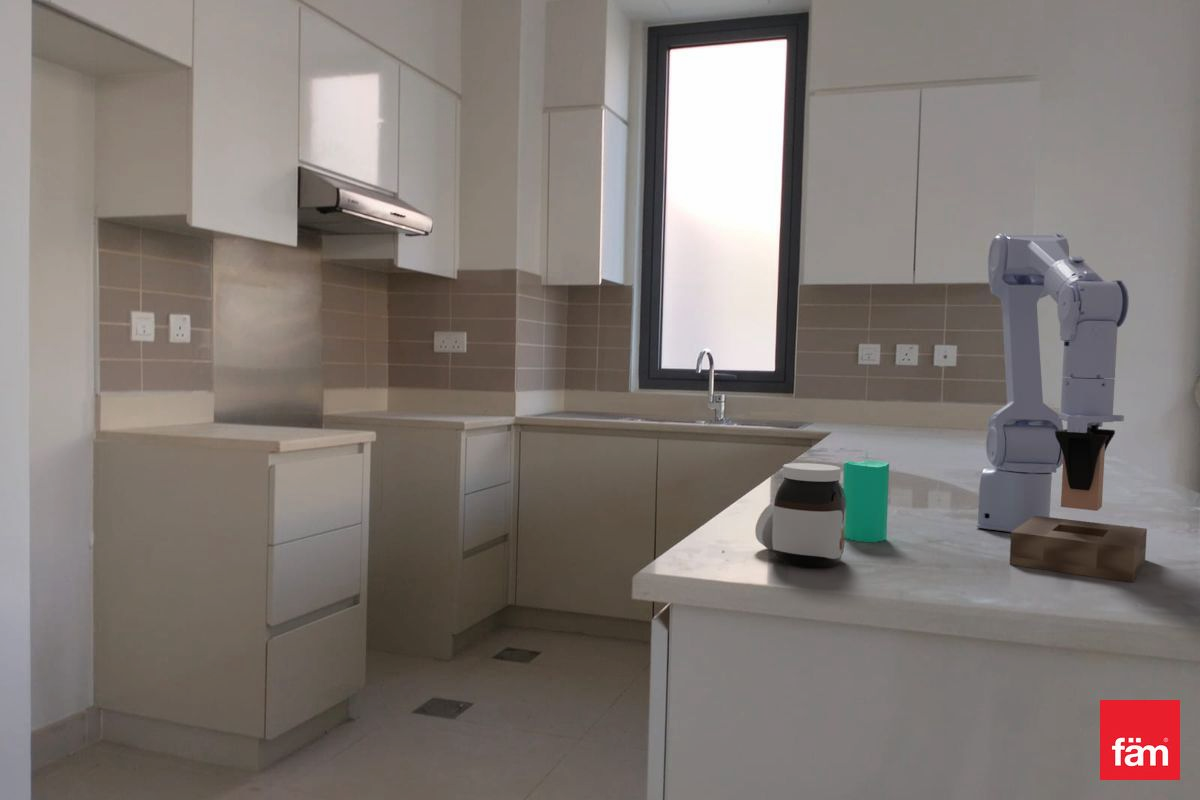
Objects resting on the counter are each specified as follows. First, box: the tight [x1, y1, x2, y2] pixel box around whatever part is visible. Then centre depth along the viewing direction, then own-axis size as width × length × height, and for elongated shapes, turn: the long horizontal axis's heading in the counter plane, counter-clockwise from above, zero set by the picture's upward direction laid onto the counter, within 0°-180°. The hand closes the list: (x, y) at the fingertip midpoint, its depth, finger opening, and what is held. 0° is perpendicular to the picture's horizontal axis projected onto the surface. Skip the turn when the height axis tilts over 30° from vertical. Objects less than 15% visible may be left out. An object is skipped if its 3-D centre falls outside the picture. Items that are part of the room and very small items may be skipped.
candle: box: [842, 451, 890, 543], centre depth 122 cm, size 6×6×12 cm
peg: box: [1060, 443, 1106, 512], centre depth 110 cm, size 4×4×8 cm
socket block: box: [1009, 516, 1148, 583], centre depth 110 cm, size 13×15×4 cm
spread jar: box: [754, 462, 846, 569], centre depth 109 cm, size 12×11×12 cm
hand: (1082, 487), depth 110 cm, fingers closed on peg, 4 cm apart
